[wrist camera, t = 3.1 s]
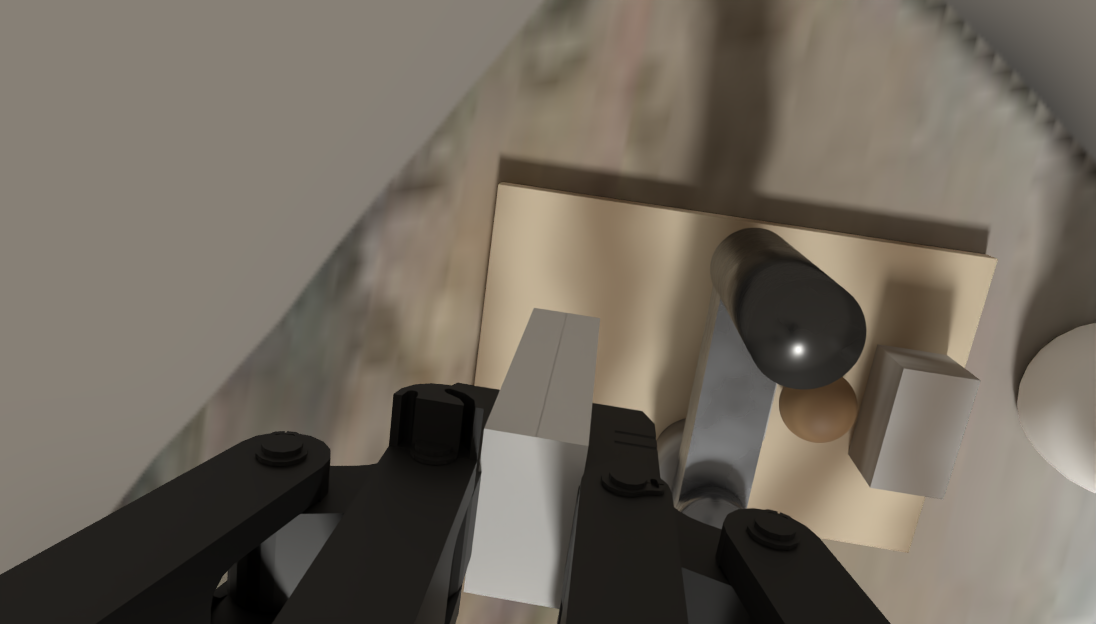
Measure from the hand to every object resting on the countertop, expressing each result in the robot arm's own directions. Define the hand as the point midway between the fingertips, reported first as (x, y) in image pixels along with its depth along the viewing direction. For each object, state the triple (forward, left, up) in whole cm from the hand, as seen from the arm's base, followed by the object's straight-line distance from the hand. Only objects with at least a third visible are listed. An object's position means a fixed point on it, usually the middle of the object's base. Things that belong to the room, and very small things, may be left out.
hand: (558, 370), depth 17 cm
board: (+7, -7, -22) cm, 24 cm away
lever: (+8, -6, -21) cm, 23 cm away
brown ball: (+12, -7, -21) cm, 25 cm away
